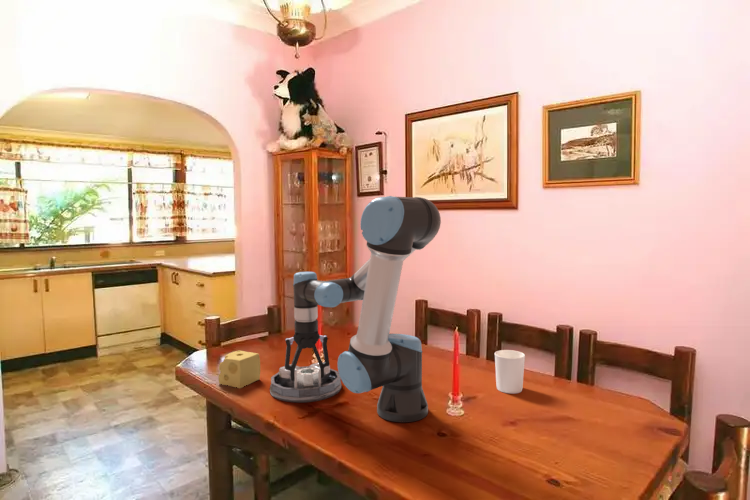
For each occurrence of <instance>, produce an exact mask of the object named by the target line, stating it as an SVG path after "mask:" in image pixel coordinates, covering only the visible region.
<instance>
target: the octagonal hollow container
mask: <svg viewBox="0 0 750 500" xmlns="http://www.w3.org/2000/svg"><path fill="white" fill-rule="evenodd" d="M314 387H319V372H318V369H315V368H301V369H299V370H297V389H304V388H314Z"/></svg>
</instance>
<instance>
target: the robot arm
mask: <svg viewBox="0 0 750 500" xmlns="http://www.w3.org/2000/svg"><path fill="white" fill-rule="evenodd" d="M441 223H442V221H441V214H440V211H439V209H438V207H437V206H436V205H435V203H433V202H432V201H431V200H428V199H427V198H424V197H418V196H415V197H413V196H412V197H409V196H394V195H393V196H392V195H388V196H381V197H376V198H374V199H372V200H371V201H370V202H368V204H367V205H366V206H365V207H364V210H363V211H362V214H361V217H360V230H361V231H362V232H361V234H362V237H363V239H364V240H365V241H366V248H367V249H368V251H369V252H370V258H369V259H368V260H366V262H364V264H363V265H362V266H361V267H360V268H359V269H358V270H357V271H355V273H353V274H352V276H350V277H347V278H339V279H331V280H319V279H318V275H317V273H316V272H315V271H299V272H295V273H294V274H293V284H292V286H293V287H292V288H293V305H294V306H293V310H294V313H293V317H294V334H293V336H292V337H286V338H285V344H286V348H285V359H284V366H285V369H286V370H290V371H291V380H292V381H294V388H296V389H297V370H296V369H295V367H296V366H297V364H298V362H299V359H300V356H301V353H302V351H303V349H312V351H313V353H314V355H315V358H316V360H317V362H318V363H319V365H320V367H317V369H318V372H319V387H320V386H321V378H324V368H325V367H326V366H329V365H330V360H329V351H328V345H327V343H328V340H329V338H328V335H326V334H325V335H321V334H320V333H319V324H318V323H319V321H318V317H319V313H318V310H319V307H318V306H321V307H324V308H335V307H338V306H339V305H340V304H344V303H348V302H355V301H356V302H357V301H362V303H361V309H360V315H359V320H358V327H357V332H356V334H355V335H353V336H351V337H350V339H349V340H350V341H349V346H348V350H344V351H343V352H342V353H340V354H339V355H338V358H337V363H336V365H337V371H338V373H339V375H340V377H341V383H342V384H343V385H344V386H345V388H347V389H348V391H350V392H352V393H354V394H362V393H368V392H371V391H372V390H375V389H378V388H381V390H380V394H379V397H378V400H377V404H376V407H377V408H376V413H377V414H378V416H379V417H380V418H381V419H384V420H386V421H389V422H393V423H412V422H417V421H420V420H422V419H424V418H426V417H427V416H428V413H429V404H428V401H427V399H426V395H425V392H424V389H423V349H422V341H421V339H420V338H419V337H417V336H414V335H410V334H404V333H390V331H391V325H392V322H393V321H392V320H393V316H394V310H395V306H396V305H395V304H396V300H397V295H398V291H399V284H400V279H401V276H402V271H403V270H402V269H403V265H404V261H405V260H406V259H407V258H409V257H410V256H411V255H412V254H413V253H414V252H415V251H417V250H419V251H421V250H423V249H424V248H425V247H426V246H427V245H429V244H430V243H431V241H433V240H434V238H435V237H436V236H437V235H438V233H439V231H440V228H441ZM319 340H320V343H321V345H322V352H323V353H322V354H323V360H324V361H323V360H322V358H321V356H320V354H319V351H318V349H317V346H316V344H317V342H318V341H319ZM293 342H295V343H296V344H297V346H296V350H295V353H294V356H293V359H292V361H291V351H292V350H291V349H292V347H291V346H292V345H293V344H294V343H293ZM290 361H291V364H290ZM322 362H323V363H322Z"/></svg>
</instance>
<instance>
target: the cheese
mask: <svg viewBox="0 0 750 500" xmlns="http://www.w3.org/2000/svg"><path fill="white" fill-rule="evenodd" d="M218 370H219V374H218V378H217V379H218V384H219V385H221V384H222V385H223V386H227V385H228V386H227V387H233V388H236V387H237V389H243V388H244V386H245V387H247V386H248V385H251V384H253V383H254V382H256V381H257V382H258V381H259V380H260V377H261V359H260V353H258V352H257V353H256V352H253V351H251V352H250V351H244V350H238V349H237V350H236V351H231V352H230V353H227V354H226V355H225V356H224V359H223V361H221V362H220V363H219V365H218ZM222 385H221V386H222ZM246 385H247V386H246Z"/></svg>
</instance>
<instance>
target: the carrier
mask: <svg viewBox="0 0 750 500" xmlns="http://www.w3.org/2000/svg"><path fill="white" fill-rule="evenodd" d="M323 362H324V361H322V363H323ZM317 367H320V365H319V363H318V361H317V362H315V363H312V364H310V365H308V366H307V365H306V366H299V365H296V367H295V369H296V370H299V369H301V368H315V369H317ZM270 383H271V384H270V386H269V392H270V396H272V397H273V398H274V399H276V400H279V401H281V402H282V401H283V402H288V403H300V404H301V403H311V402H312V403H313V402H319V401H323V400H326V399H329V398H332V397H334V396H335V395H338V394H339V392H340V391H341V390H342V380H341V377H340V375H339V372H338V370H335V369H333V368H331V364H329V366H326V367H325V368H324V378H321V386H320V387H314V388H304V389H296V388H294V381H292V380H291V371H290V370H286V369H285V365H284V366H280V367H279V369H278V372H277V373H275V374H273V375H272V376H271V377H270Z"/></svg>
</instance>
